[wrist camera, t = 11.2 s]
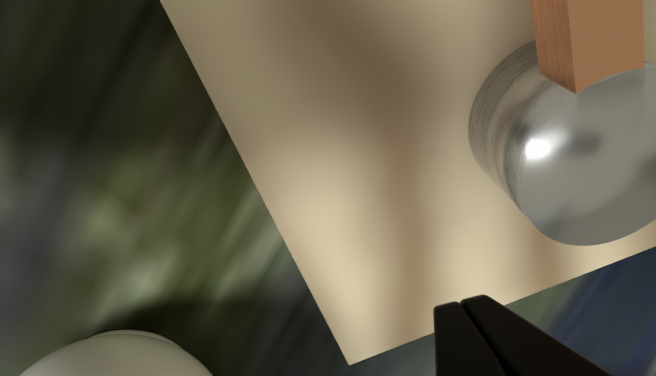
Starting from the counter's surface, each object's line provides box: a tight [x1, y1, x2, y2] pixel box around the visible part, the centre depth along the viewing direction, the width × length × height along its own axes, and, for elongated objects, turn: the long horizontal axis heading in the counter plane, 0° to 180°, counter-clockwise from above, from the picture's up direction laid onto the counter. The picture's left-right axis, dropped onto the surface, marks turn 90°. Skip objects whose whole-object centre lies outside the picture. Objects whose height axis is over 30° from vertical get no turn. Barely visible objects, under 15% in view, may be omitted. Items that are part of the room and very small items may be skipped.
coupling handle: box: [468, 0, 656, 246], centre depth 15 cm, size 15×6×4 cm, turn 19°
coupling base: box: [160, 0, 656, 365], centre depth 20 cm, size 22×18×2 cm
